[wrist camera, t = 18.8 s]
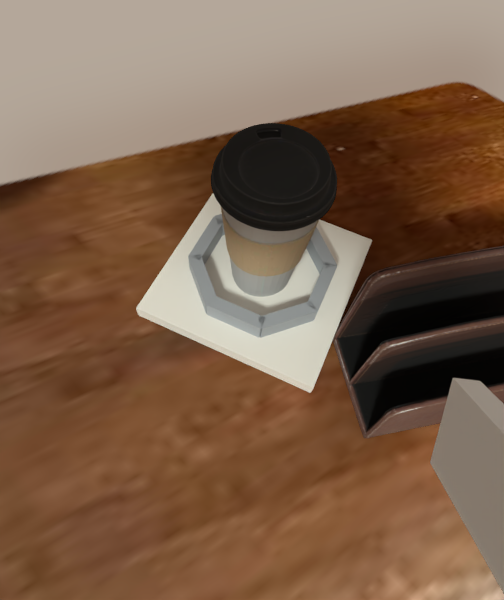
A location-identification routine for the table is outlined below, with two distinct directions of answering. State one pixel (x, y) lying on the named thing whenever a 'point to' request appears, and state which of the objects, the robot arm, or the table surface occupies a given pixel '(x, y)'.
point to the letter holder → (423, 338)
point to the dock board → (258, 299)
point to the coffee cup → (271, 201)
